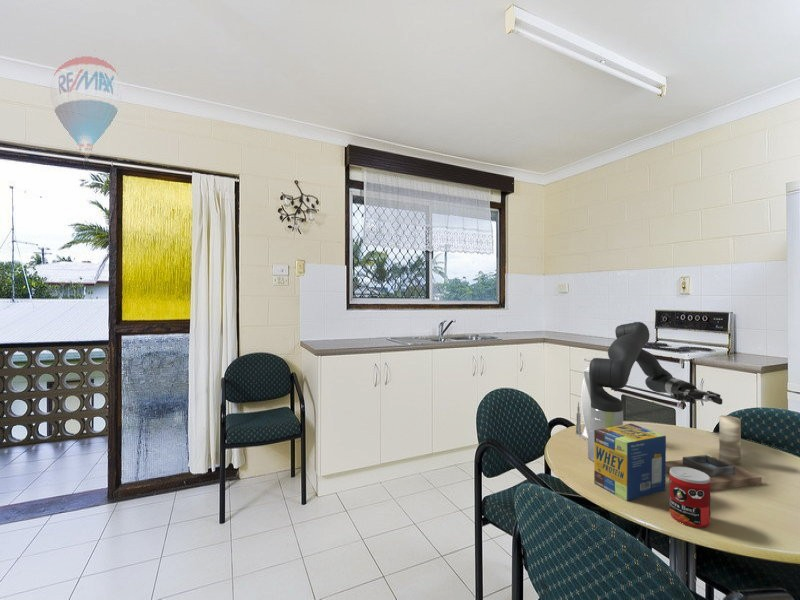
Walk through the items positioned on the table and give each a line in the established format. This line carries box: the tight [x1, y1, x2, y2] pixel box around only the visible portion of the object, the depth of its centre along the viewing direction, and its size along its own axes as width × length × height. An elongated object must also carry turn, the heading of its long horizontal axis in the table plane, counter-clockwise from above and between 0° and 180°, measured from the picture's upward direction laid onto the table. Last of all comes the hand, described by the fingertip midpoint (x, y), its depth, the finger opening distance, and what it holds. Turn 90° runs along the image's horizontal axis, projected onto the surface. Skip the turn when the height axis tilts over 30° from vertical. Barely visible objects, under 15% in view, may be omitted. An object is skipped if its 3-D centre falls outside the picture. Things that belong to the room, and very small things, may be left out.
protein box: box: [593, 423, 667, 502], centre depth 106 cm, size 10×15×16 cm
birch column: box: [718, 415, 742, 466], centre depth 122 cm, size 5×5×14 cm
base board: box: [666, 454, 763, 491], centre depth 112 cm, size 20×14×4 cm
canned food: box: [668, 467, 712, 529], centre depth 90 cm, size 8×8×11 cm
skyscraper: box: [575, 365, 591, 441], centre depth 144 cm, size 8×8×28 cm
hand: (707, 401), depth 133 cm, fingers open, 8 cm apart
